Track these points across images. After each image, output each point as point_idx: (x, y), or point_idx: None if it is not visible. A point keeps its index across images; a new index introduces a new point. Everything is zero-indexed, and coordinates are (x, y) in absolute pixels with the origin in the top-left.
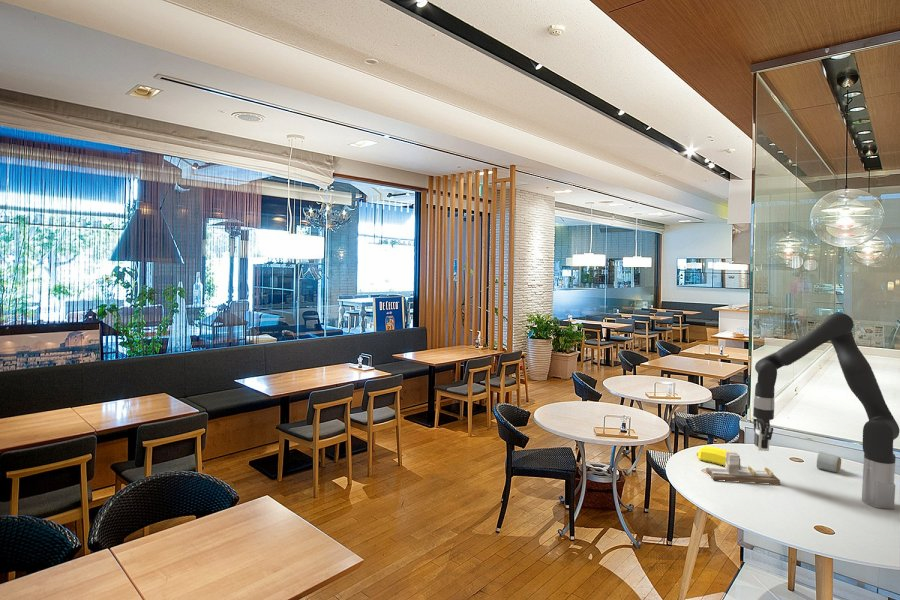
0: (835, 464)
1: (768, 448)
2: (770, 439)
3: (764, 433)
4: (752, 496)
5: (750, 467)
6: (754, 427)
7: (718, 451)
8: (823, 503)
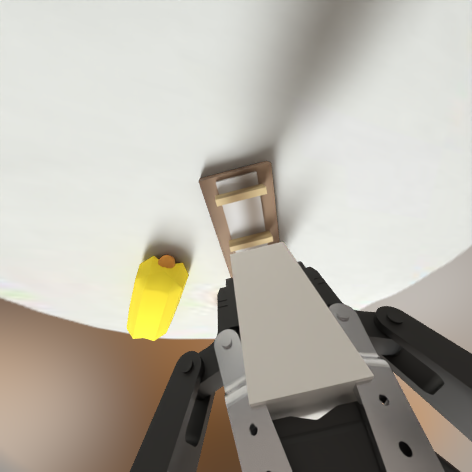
0: None
1: (289, 252)
2: (399, 312)
3: (428, 401)
4: (353, 237)
5: (239, 246)
6: (191, 435)
7: (164, 315)
8: (407, 32)
